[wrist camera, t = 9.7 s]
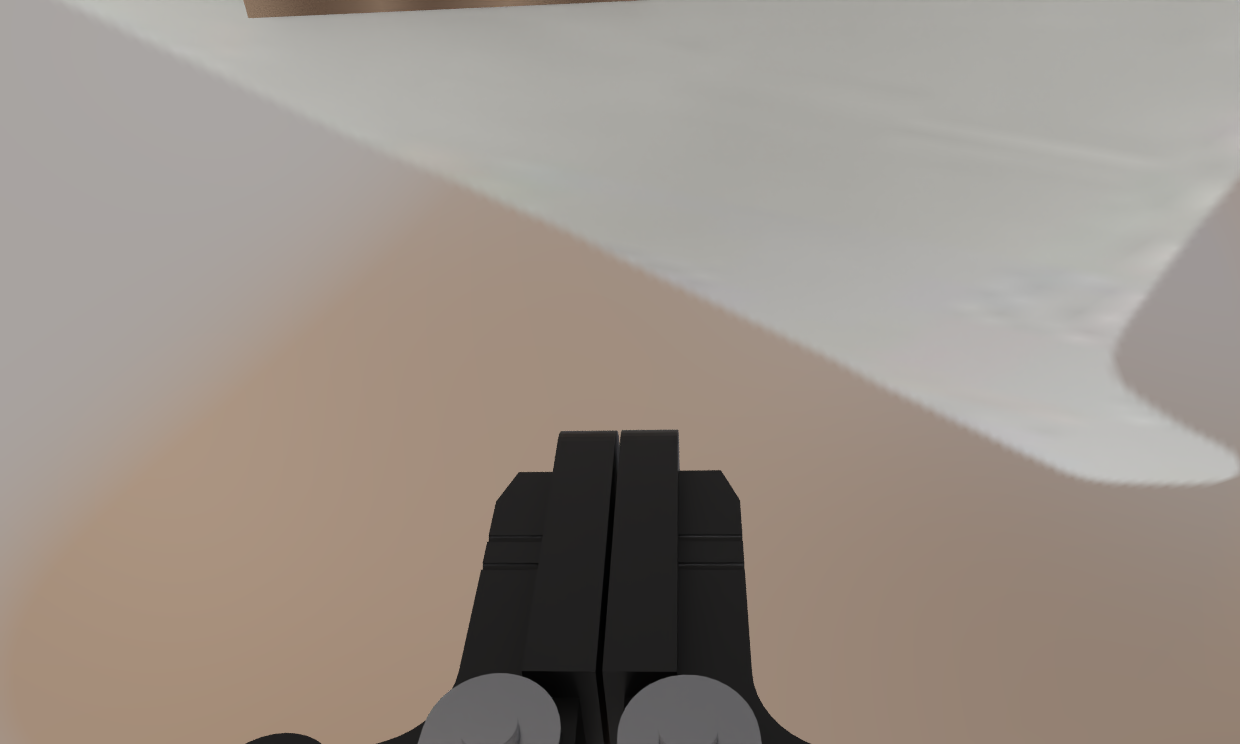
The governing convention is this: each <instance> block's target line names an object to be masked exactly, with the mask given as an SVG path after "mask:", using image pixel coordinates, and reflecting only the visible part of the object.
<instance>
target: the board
mask: <svg viewBox="0 0 1240 744" xmlns="http://www.w3.org/2000/svg"><path fill="white" fill-rule="evenodd" d="M613 1H635V0H244V4H245V7H246V11H247V14H248V18H261V17H283V16H305V15H327V14H349V13H371V12H393V11H415V10H437V9H459V8H481V7H503V6H525V5H547V4H569V3H591V2H613Z"/></svg>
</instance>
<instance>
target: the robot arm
mask: <svg viewBox="0 0 1240 744" xmlns="http://www.w3.org/2000/svg"><path fill="white" fill-rule="evenodd" d="M743 554H744V553H743V541H742V524H741V510H740V500H739V498H738V497H737V495H736V493H735V492H734V490H733V489H732V487H731V486H730V484H729V482H728V481H727V479H726V478H725V476H724V475H723V473H722V472H721V471H720V470H716V471H715V470H712V471H709V470H708V471H680V469H679V433H678V430H622V432H621V437H620V445H619V435H618V431H561V432H560V434H559V437H558V443H557V450H556V456H555V462H554V468H553V472H519V473H518V474H517V475H516V477H515V478H514V479H513V481H512V482H511V483H510V484H509V486H508V487H507V488H506V490H505V491H504V492H503V494H502V495H501V496H500V497H499V499H498V500H497V501H496V505H495V509H494V514H493V518H492V523H491V528H490V532H489V542H487V546H486V550H485V555H484V559H483V570H481V573H480V578H479V582H478V587H477V591H476V596H475V600H474V605H473V609H472V614H471V619H470V623H469V628H468V633H467V637H466V641H465V646H464V651H463V655H462V660H461V664H460V669H459V673H458V676H457V679H456V682H455V684H454V686H453V688H452V689H451V690H450V691H449V692H448V693H447V694H445V695H444V696H443V697H442V698H441V699H440V700H439V701H438V703H437V704H436V705H435V706H434V707H433V709H432V710H431V712H430V714H429V715H428V717H427V719H426V721H424V722H423V723H422V724H420V725H419V726H417V727H416V728H414V729H413V730H411V731H409V732H407V733H405V734H403V735H401V736H398V737H396V738H393V739H390V740H387V741H384V742H381V743H378V744H810V743H807V742H805V741H803V740H801V739H800V738H798V737H796V736H794V735H792V734H791V733H790V732H788V731H787V730H786V729H784V728H783V727H781V726H780V725H779V724H778V723H777V722H776V721H775V720H774V719H773V718H772V717H771V716H770V714H769V713H768V712H767V710H766V709H765V708H764V706H763V704H762V703H761V701H760V699H759V697H758V695H757V692H756V689H755V686H754V683H753V676H752V667H751V653H750V640H749V625H748V610H747V595H746V582H745V570H744V555H743ZM246 744H321V743H320V742H318V741H317V740H315V739H313V738H311V737H308V736H305V735H301V734H294V733H281V734H273V735H269V736H264V737H261V738H258V739H255V740H253V741H250V742H248V743H246Z"/></svg>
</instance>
